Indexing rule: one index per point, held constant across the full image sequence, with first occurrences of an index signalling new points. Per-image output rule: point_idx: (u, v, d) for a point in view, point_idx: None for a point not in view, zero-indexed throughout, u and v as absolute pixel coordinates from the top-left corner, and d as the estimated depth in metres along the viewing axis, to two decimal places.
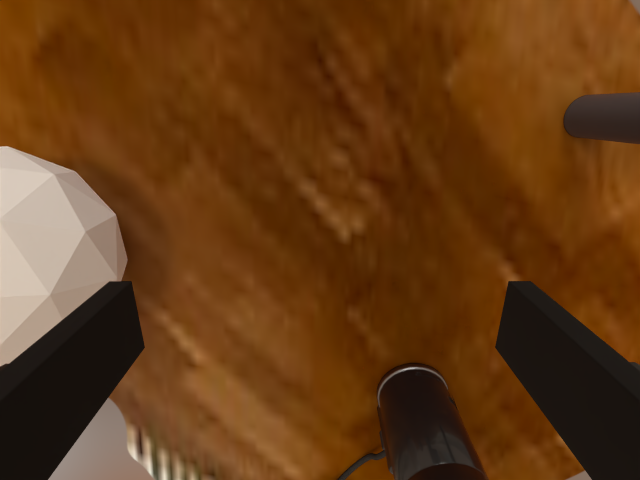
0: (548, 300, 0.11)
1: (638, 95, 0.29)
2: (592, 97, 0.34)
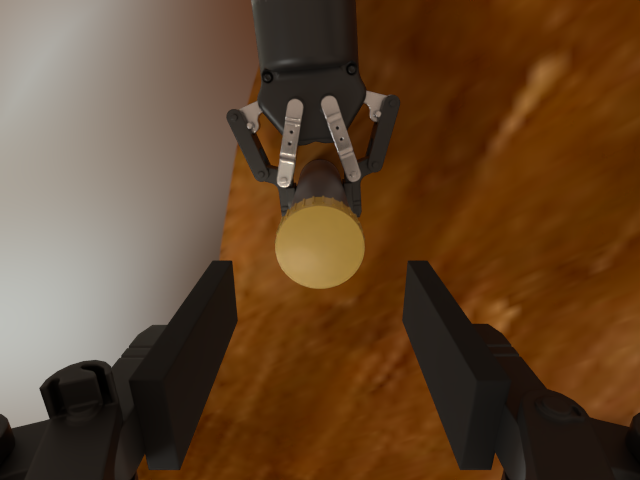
0: (432, 275, 0.13)
1: None
2: None
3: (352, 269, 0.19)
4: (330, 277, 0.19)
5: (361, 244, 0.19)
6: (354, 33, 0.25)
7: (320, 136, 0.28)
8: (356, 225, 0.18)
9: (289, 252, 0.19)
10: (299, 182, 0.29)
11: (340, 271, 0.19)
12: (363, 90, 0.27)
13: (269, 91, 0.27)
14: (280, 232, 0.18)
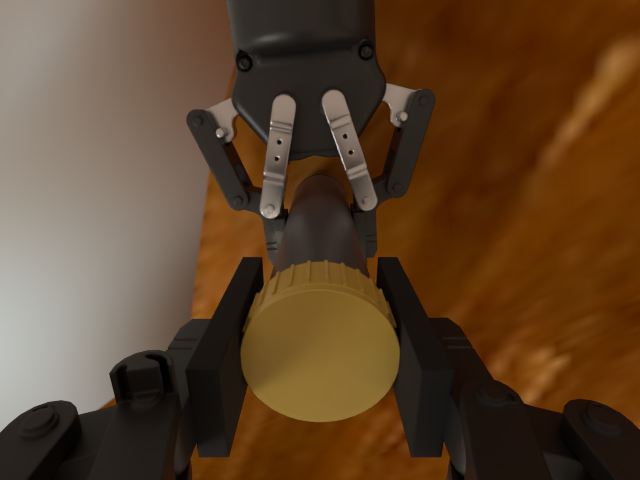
0: (399, 271, 0.13)
1: None
2: None
3: (377, 393, 0.11)
4: (338, 405, 0.11)
5: (395, 353, 0.10)
6: None
7: (320, 148, 0.20)
8: (387, 323, 0.10)
9: (265, 366, 0.10)
10: (291, 211, 0.21)
11: (356, 396, 0.11)
12: (382, 82, 0.19)
13: (247, 84, 0.19)
14: (248, 334, 0.10)
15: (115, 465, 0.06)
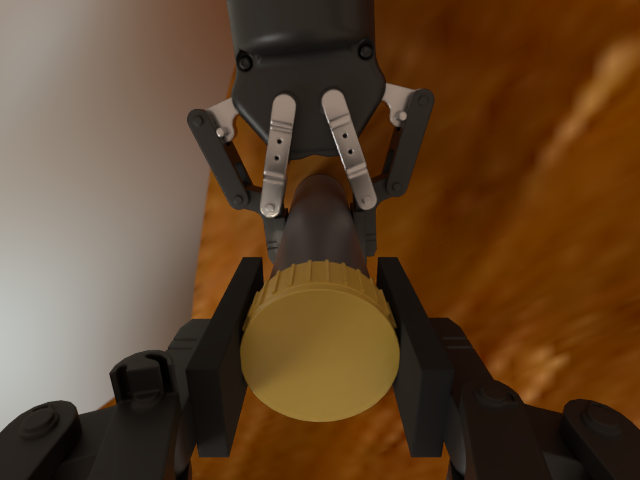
0: (399, 271, 0.13)
1: None
2: None
3: (363, 309, 0.10)
4: (378, 345, 0.10)
5: (311, 294, 0.10)
6: None
7: (320, 147, 0.20)
8: (273, 304, 0.10)
9: (325, 403, 0.11)
10: (291, 210, 0.21)
11: (366, 329, 0.10)
12: (382, 82, 0.19)
13: (247, 83, 0.19)
14: (289, 413, 0.11)
15: (115, 465, 0.06)
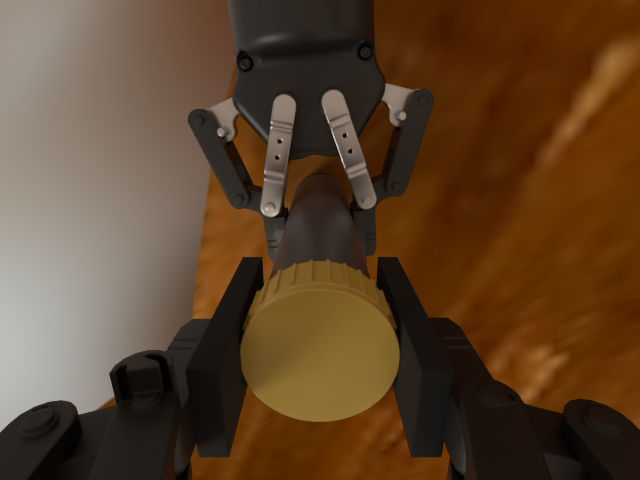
0: (399, 271, 0.13)
1: None
2: None
3: (258, 324, 0.10)
4: (301, 310, 0.10)
5: (245, 366, 0.10)
6: None
7: (320, 147, 0.20)
8: (256, 394, 0.11)
9: (375, 356, 0.10)
10: (291, 210, 0.21)
11: (281, 321, 0.10)
12: (381, 82, 0.19)
13: (248, 83, 0.19)
14: (386, 386, 0.11)
15: (115, 465, 0.06)
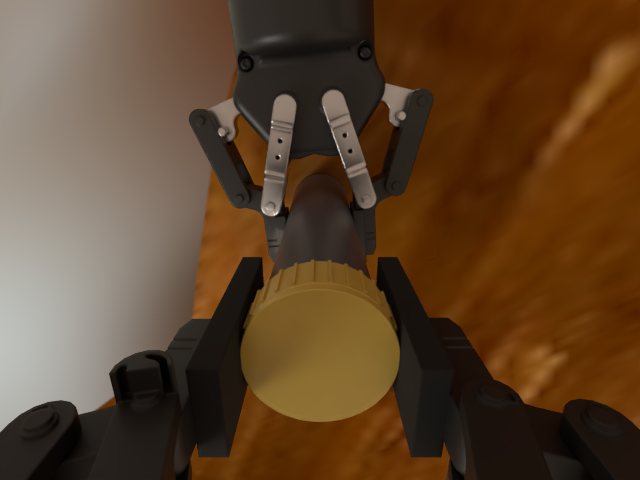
0: (399, 271, 0.13)
1: None
2: None
3: (279, 405, 0.11)
4: (263, 374, 0.11)
5: (324, 418, 0.11)
6: None
7: (320, 147, 0.20)
8: (358, 412, 0.11)
9: (315, 312, 0.10)
10: (292, 209, 0.21)
11: (275, 388, 0.11)
12: (381, 82, 0.19)
13: (248, 84, 0.19)
14: (357, 300, 0.10)
15: (114, 465, 0.06)
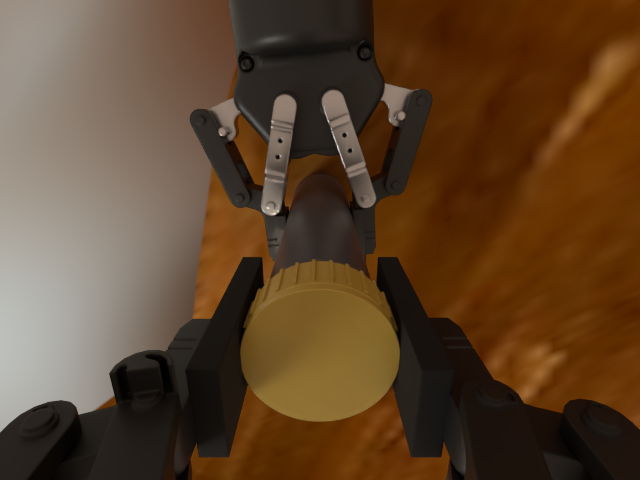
0: (399, 271, 0.13)
1: None
2: None
3: (374, 395, 0.11)
4: (335, 405, 0.11)
5: (395, 357, 0.10)
6: None
7: (320, 146, 0.20)
8: (389, 326, 0.10)
9: (264, 363, 0.10)
10: (292, 208, 0.21)
11: (353, 397, 0.11)
12: (381, 82, 0.19)
13: (249, 84, 0.19)
14: (250, 329, 0.10)
15: (114, 465, 0.06)
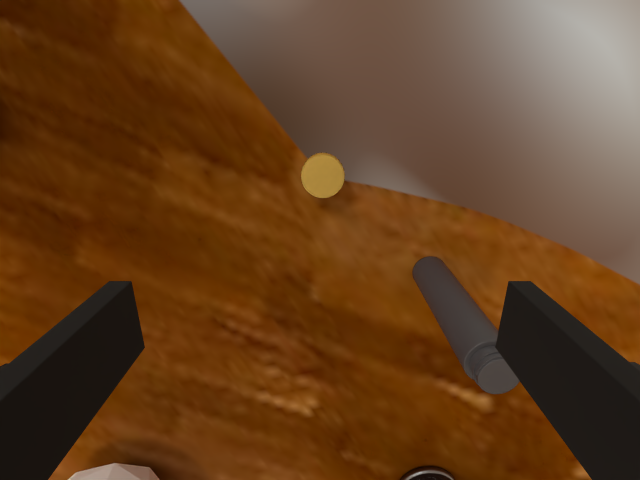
0: (548, 300, 0.11)
1: (433, 291, 0.38)
2: (419, 270, 0.43)
3: (335, 161, 0.38)
4: (338, 173, 0.39)
5: (322, 156, 0.38)
6: None
7: None
8: (312, 158, 0.38)
9: (323, 191, 0.39)
10: (462, 287, 0.37)
11: (335, 167, 0.38)
12: None
13: None
14: (313, 194, 0.40)
15: None
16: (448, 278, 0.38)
